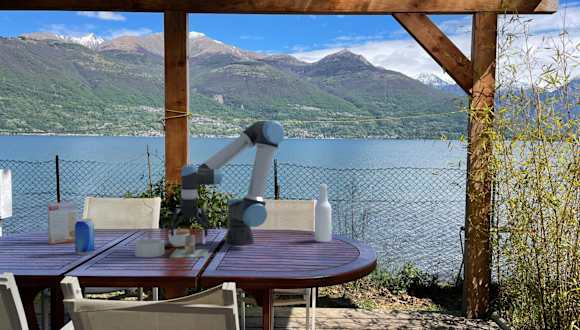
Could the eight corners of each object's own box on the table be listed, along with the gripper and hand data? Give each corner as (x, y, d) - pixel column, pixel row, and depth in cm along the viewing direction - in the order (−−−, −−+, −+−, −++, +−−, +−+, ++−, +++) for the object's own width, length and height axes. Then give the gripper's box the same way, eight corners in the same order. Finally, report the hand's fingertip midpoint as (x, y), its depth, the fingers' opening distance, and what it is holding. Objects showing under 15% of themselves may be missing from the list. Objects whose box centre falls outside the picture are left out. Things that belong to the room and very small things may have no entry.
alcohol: (312, 240, 288) (312, 184, 286) (327, 239, 291) (327, 183, 289) (318, 243, 280) (318, 185, 278) (333, 242, 282) (334, 185, 281)
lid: (209, 251, 262) (209, 232, 261) (204, 259, 246) (204, 239, 245) (176, 251, 261) (176, 232, 261) (169, 259, 245) (169, 239, 245)
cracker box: (76, 240, 288) (75, 201, 287) (78, 242, 283) (78, 202, 282) (48, 243, 280) (47, 203, 279) (50, 244, 275) (49, 204, 274)
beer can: (98, 252, 257) (97, 219, 257) (86, 256, 249) (85, 221, 249) (83, 251, 260) (83, 218, 259) (71, 254, 252) (70, 220, 251)
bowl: (166, 251, 260) (166, 238, 259) (160, 257, 247) (160, 244, 246) (139, 251, 260) (139, 238, 259) (131, 257, 247) (131, 244, 246)
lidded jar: (184, 248, 267) (184, 229, 266) (164, 247, 269) (164, 228, 269) (193, 244, 277) (192, 225, 277) (173, 243, 280) (173, 225, 279)
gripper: (217, 197, 256) (216, 241, 257) (164, 197, 256) (164, 241, 257) (215, 199, 248) (214, 244, 249) (160, 198, 248) (160, 244, 249)
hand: (189, 243), depth 253 cm, fingers open, 13 cm apart
